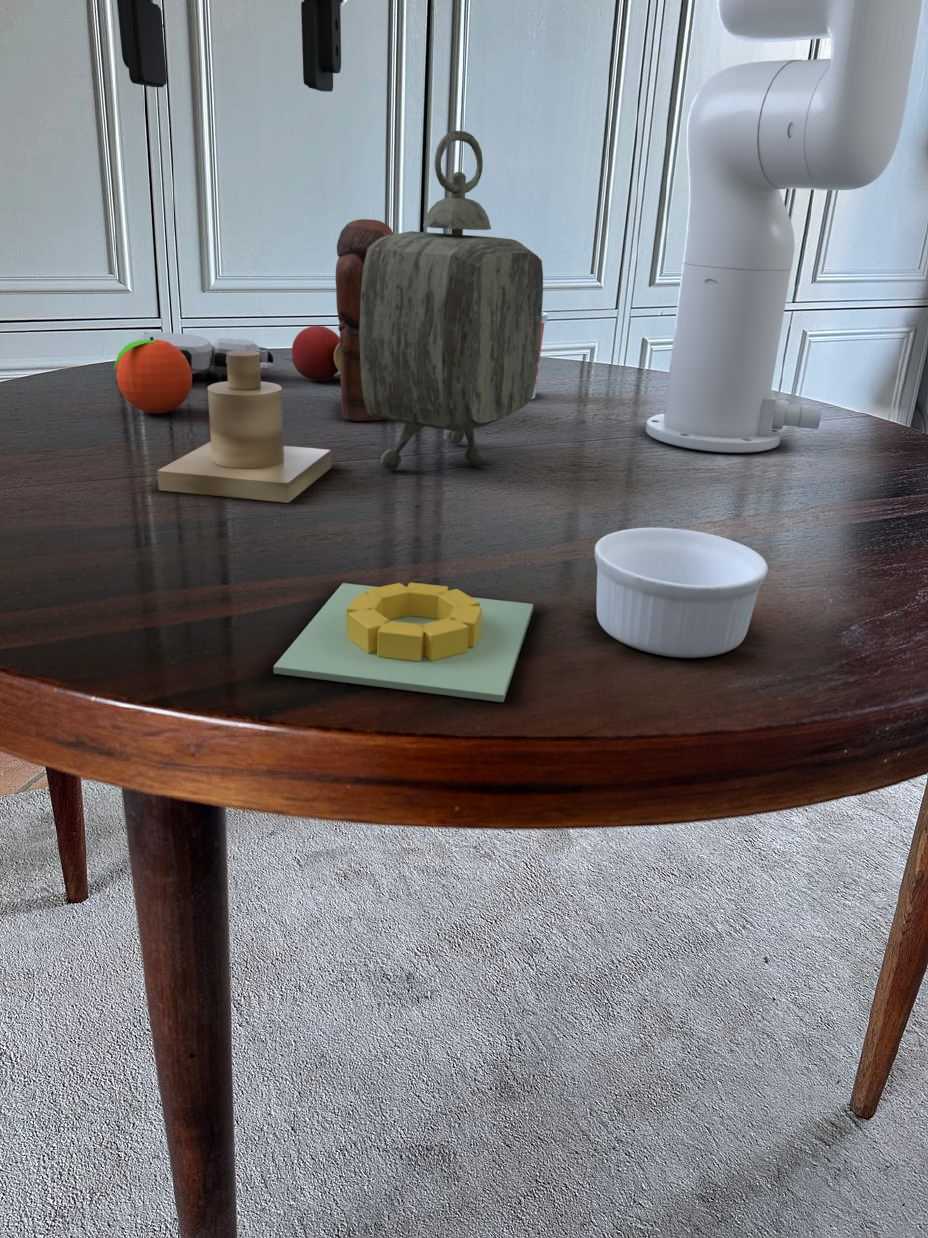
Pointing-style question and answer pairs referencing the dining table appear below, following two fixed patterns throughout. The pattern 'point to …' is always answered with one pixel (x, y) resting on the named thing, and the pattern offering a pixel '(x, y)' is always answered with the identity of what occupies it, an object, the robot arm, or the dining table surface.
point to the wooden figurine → (353, 309)
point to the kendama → (316, 353)
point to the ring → (414, 640)
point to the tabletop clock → (449, 321)
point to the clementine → (153, 375)
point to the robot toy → (210, 351)
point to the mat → (459, 675)
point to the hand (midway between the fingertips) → (233, 86)
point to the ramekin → (676, 590)
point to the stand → (246, 443)
